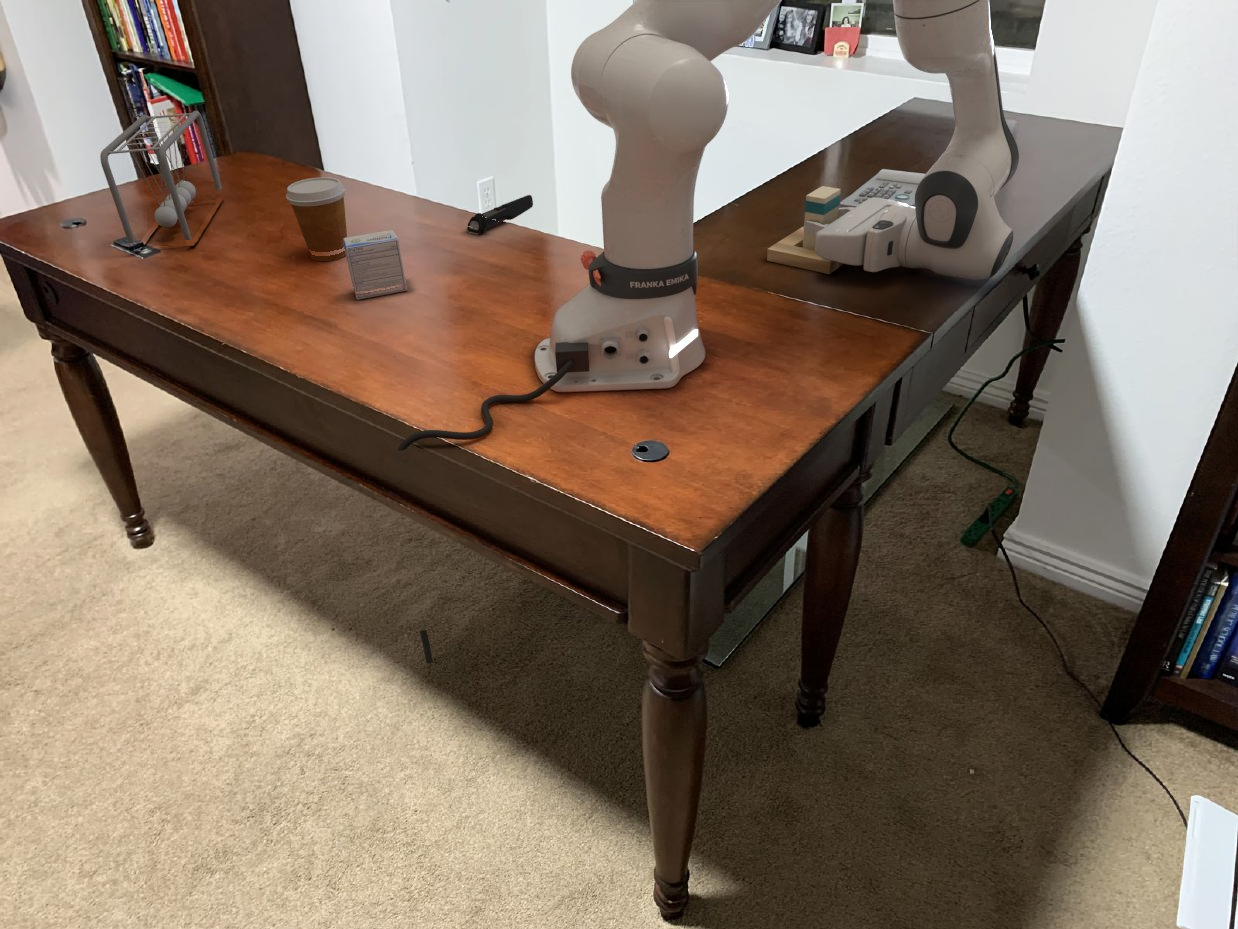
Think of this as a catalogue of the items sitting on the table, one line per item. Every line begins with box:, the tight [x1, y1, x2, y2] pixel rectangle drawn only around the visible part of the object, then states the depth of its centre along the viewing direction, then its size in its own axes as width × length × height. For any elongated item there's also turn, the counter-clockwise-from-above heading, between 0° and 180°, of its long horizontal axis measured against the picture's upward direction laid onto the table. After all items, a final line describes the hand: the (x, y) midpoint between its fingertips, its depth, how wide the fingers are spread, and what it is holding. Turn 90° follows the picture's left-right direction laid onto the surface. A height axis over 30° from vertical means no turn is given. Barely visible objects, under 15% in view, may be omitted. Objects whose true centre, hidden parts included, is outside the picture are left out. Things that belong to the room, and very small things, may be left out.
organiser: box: [766, 225, 844, 275], centre depth 149 cm, size 14×11×2 cm
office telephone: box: [839, 168, 926, 208], centre depth 169 cm, size 23×3×20 cm
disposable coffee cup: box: [285, 176, 348, 262], centre depth 155 cm, size 10×10×12 cm
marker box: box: [803, 185, 842, 250], centre depth 147 cm, size 6×3×10 cm, turn 143°
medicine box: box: [343, 229, 408, 301], centre depth 142 cm, size 8×4×9 cm, turn 111°
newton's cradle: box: [99, 110, 223, 244], centre depth 170 cm, size 30×10×18 cm, turn 9°
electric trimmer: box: [466, 194, 534, 236], centre depth 168 cm, size 4×16×3 cm, turn 142°
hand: (816, 219), depth 147 cm, fingers closed on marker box, 5 cm apart
